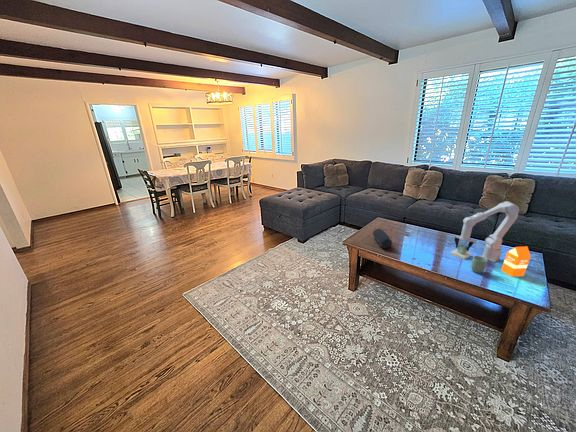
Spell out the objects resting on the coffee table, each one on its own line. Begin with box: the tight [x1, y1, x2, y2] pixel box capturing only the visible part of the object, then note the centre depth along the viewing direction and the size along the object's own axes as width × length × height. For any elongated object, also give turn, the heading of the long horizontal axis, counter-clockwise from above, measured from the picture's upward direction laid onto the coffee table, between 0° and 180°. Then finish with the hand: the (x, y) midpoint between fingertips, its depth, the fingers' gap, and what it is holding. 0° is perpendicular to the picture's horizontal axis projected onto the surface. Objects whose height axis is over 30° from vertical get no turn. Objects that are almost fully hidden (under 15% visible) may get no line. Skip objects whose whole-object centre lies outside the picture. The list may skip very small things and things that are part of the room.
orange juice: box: [501, 246, 531, 277], centre depth 158 cm, size 8×9×20 cm
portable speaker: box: [372, 228, 393, 249], centre depth 206 cm, size 25×10×10 cm, turn 178°
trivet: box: [450, 248, 473, 260], centre depth 185 cm, size 10×10×3 cm
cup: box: [470, 255, 489, 274], centre depth 162 cm, size 8×8×10 cm
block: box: [457, 244, 468, 254], centre depth 184 cm, size 4×4×6 cm
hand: (462, 248), depth 184 cm, fingers open, 6 cm apart
